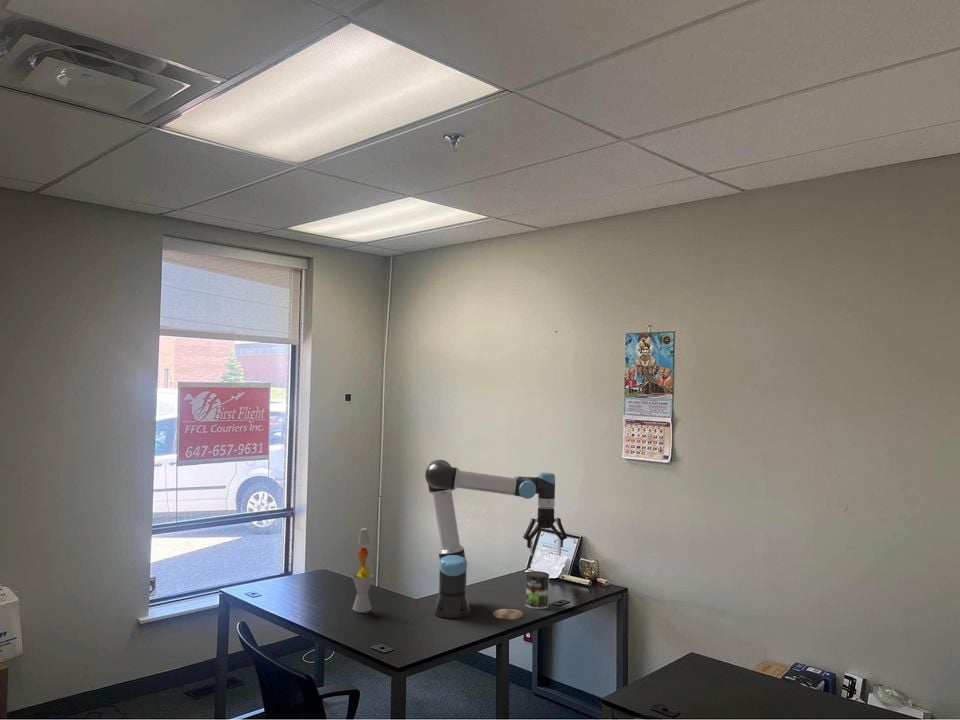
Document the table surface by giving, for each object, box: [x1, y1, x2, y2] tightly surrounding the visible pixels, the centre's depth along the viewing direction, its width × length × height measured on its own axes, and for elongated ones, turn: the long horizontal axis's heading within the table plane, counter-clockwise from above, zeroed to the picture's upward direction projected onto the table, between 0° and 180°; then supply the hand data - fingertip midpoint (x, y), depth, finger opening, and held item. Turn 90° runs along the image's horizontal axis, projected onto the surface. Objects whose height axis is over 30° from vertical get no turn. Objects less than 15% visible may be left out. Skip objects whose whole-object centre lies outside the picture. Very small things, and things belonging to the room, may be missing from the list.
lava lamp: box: [351, 527, 374, 612], centre depth 302 cm, size 9×9×35 cm
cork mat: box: [492, 608, 524, 621], centre depth 299 cm, size 13×13×1 cm
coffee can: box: [525, 570, 550, 610], centre depth 314 cm, size 10×10×14 cm
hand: (544, 554), depth 315 cm, fingers open, 13 cm apart
